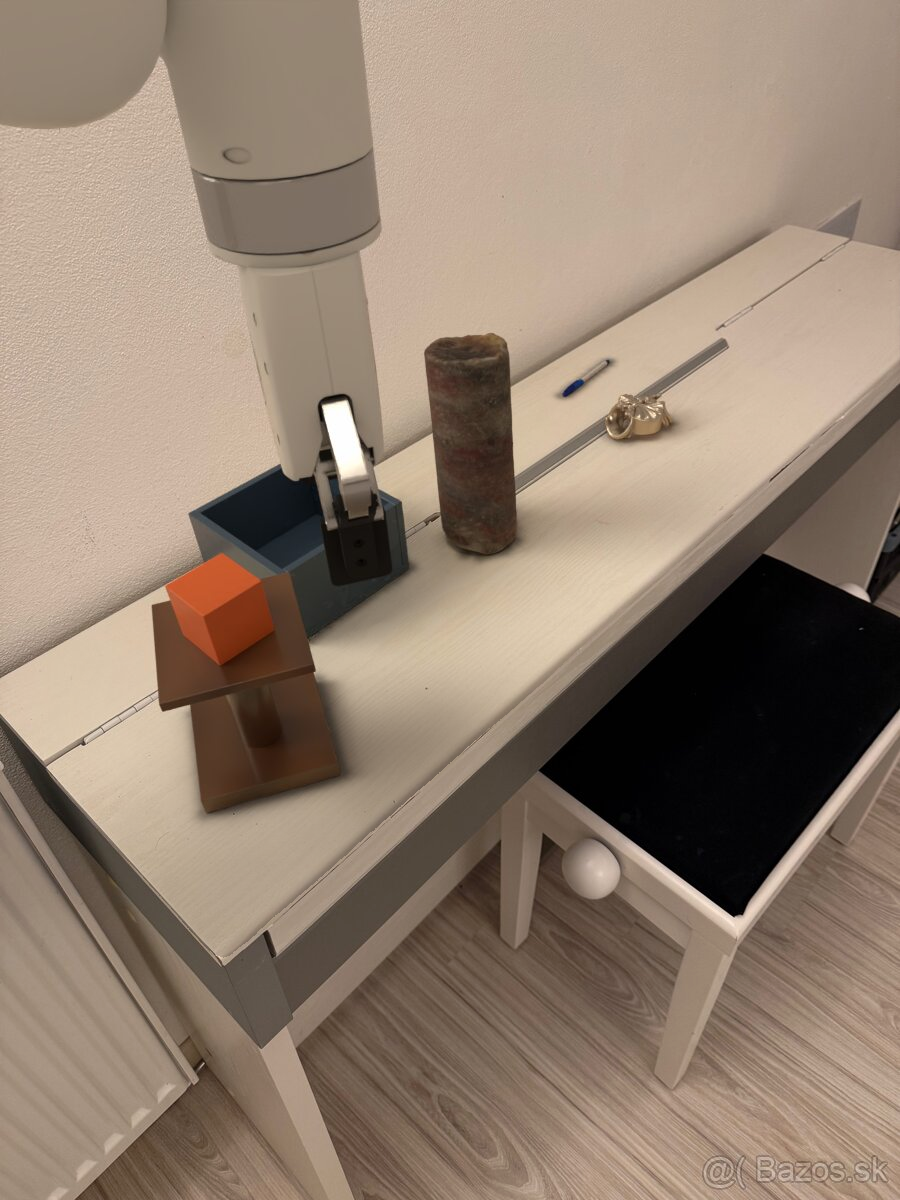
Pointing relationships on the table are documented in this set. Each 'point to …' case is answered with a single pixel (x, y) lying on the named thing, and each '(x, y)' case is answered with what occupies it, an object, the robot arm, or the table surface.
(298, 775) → the serving stand
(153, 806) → the table surface
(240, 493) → the blue open crate
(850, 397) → the table surface
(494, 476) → the brown textured cylinder
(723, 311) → the table surface
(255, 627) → the orange block
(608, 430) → the ornament
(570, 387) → the ballpoint pen
